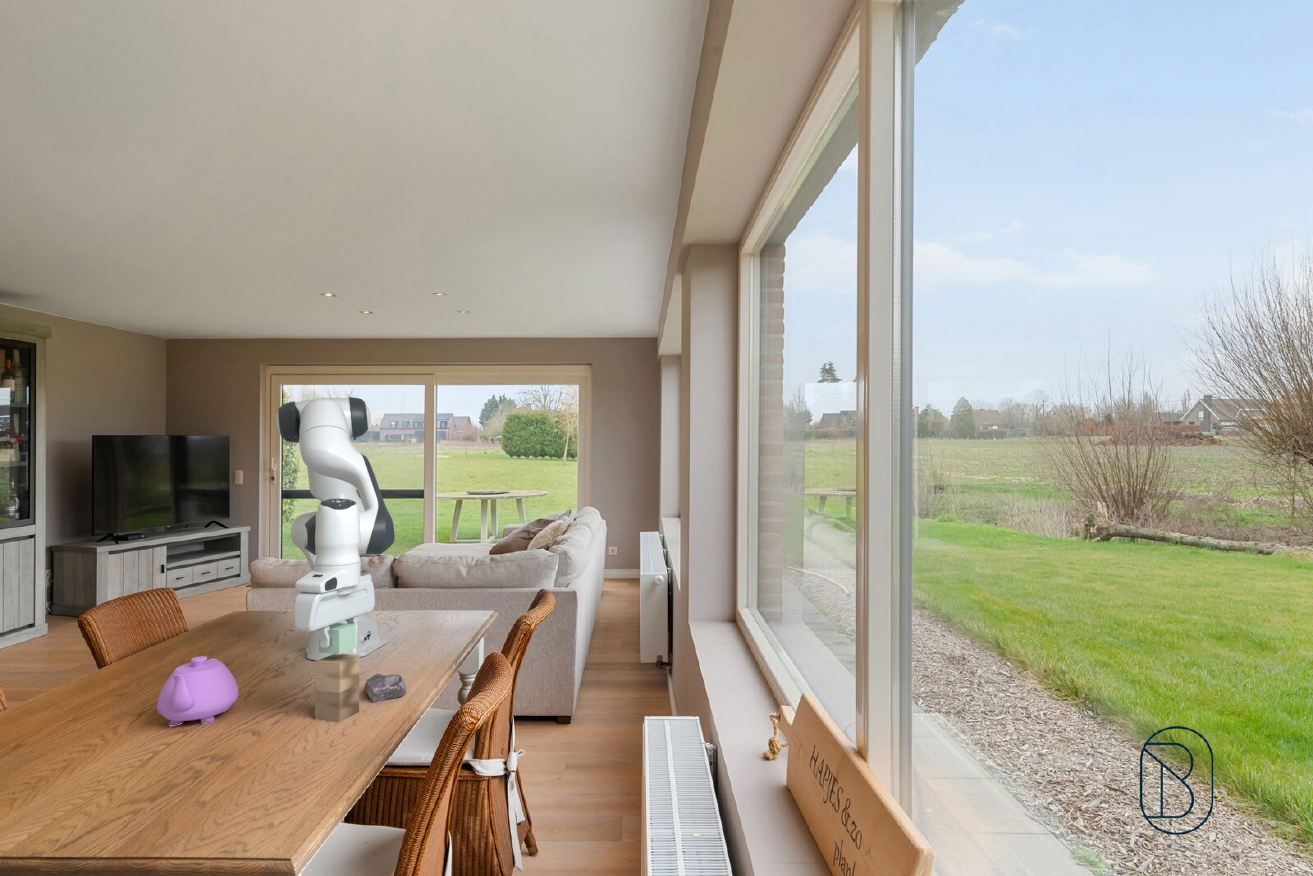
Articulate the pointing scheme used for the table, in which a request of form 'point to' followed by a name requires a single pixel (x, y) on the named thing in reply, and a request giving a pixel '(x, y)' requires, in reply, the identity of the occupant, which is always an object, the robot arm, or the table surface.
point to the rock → (385, 687)
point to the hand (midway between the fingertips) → (337, 642)
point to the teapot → (197, 691)
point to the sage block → (340, 638)
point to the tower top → (336, 672)
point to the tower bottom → (336, 704)
